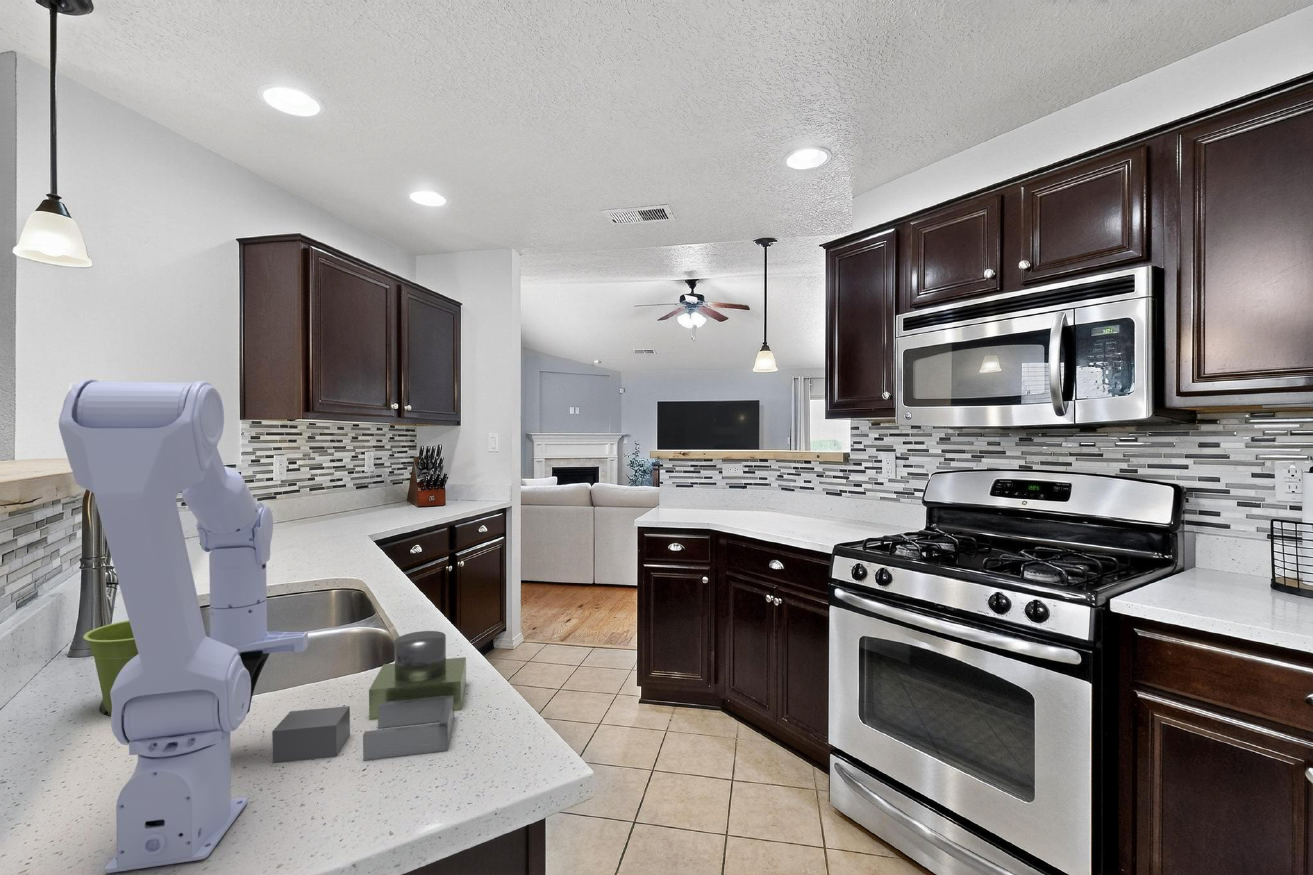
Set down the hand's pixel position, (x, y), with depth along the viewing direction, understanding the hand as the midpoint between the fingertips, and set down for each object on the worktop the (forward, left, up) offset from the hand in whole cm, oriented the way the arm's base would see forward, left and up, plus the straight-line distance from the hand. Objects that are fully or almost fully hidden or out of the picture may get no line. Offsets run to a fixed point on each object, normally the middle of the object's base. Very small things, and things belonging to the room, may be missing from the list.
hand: (240, 715), depth 75 cm
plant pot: (+21, +21, -5) cm, 30 cm away
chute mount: (+6, -19, -5) cm, 21 cm away
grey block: (0, -8, -5) cm, 10 cm away
